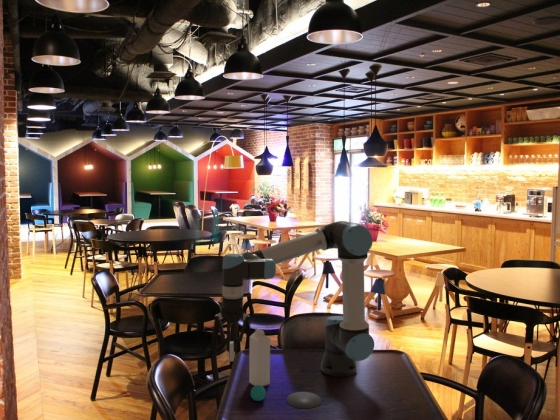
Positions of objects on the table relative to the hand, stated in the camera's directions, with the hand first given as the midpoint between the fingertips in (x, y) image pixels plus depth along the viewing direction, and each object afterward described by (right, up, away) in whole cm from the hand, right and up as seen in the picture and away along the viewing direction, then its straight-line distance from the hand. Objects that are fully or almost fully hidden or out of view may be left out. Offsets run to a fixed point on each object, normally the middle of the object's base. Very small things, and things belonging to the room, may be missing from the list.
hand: (231, 359), depth 181 cm
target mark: (+27, -16, +2) cm, 31 cm away
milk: (+10, -15, +16) cm, 24 cm away
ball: (+10, -13, +1) cm, 16 cm away
